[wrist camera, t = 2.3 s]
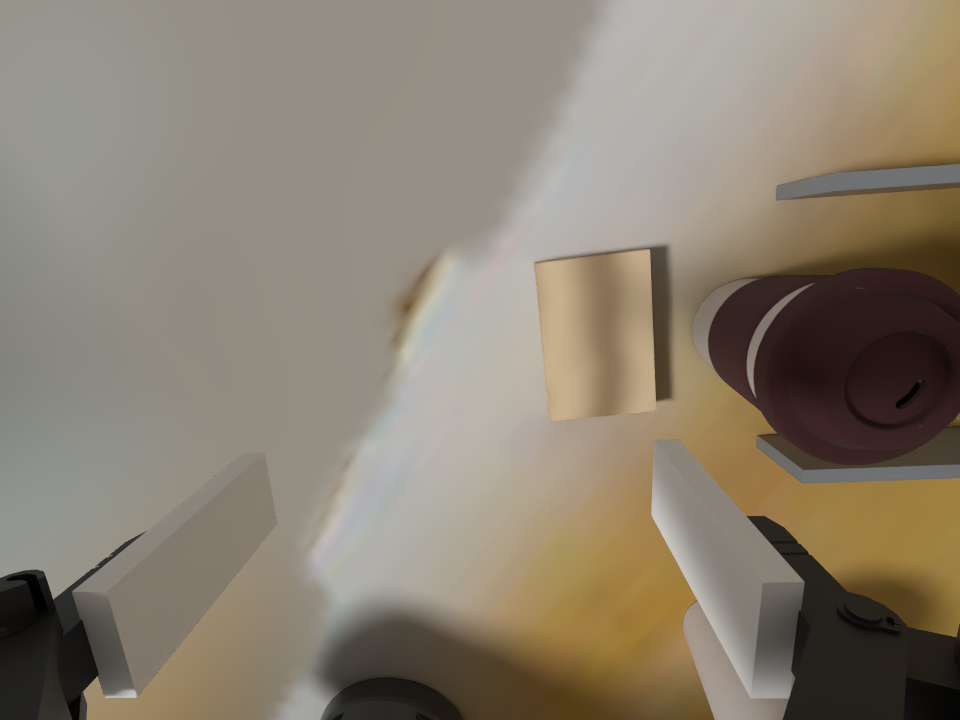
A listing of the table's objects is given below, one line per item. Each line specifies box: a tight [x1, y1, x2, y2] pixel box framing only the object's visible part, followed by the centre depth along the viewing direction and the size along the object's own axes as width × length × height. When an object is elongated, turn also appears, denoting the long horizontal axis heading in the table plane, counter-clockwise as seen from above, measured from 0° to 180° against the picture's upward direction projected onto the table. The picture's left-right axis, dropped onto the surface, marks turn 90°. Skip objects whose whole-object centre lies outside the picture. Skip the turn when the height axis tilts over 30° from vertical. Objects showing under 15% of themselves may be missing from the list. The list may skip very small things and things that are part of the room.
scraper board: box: [534, 249, 656, 421], centre depth 36 cm, size 8×12×2 cm, turn 7°
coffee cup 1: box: [683, 600, 795, 720], centre depth 35 cm, size 10×10×15 cm
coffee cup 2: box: [692, 268, 960, 465], centre depth 29 cm, size 10×10×15 cm
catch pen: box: [756, 164, 960, 484], centre depth 32 cm, size 17×20×6 cm
